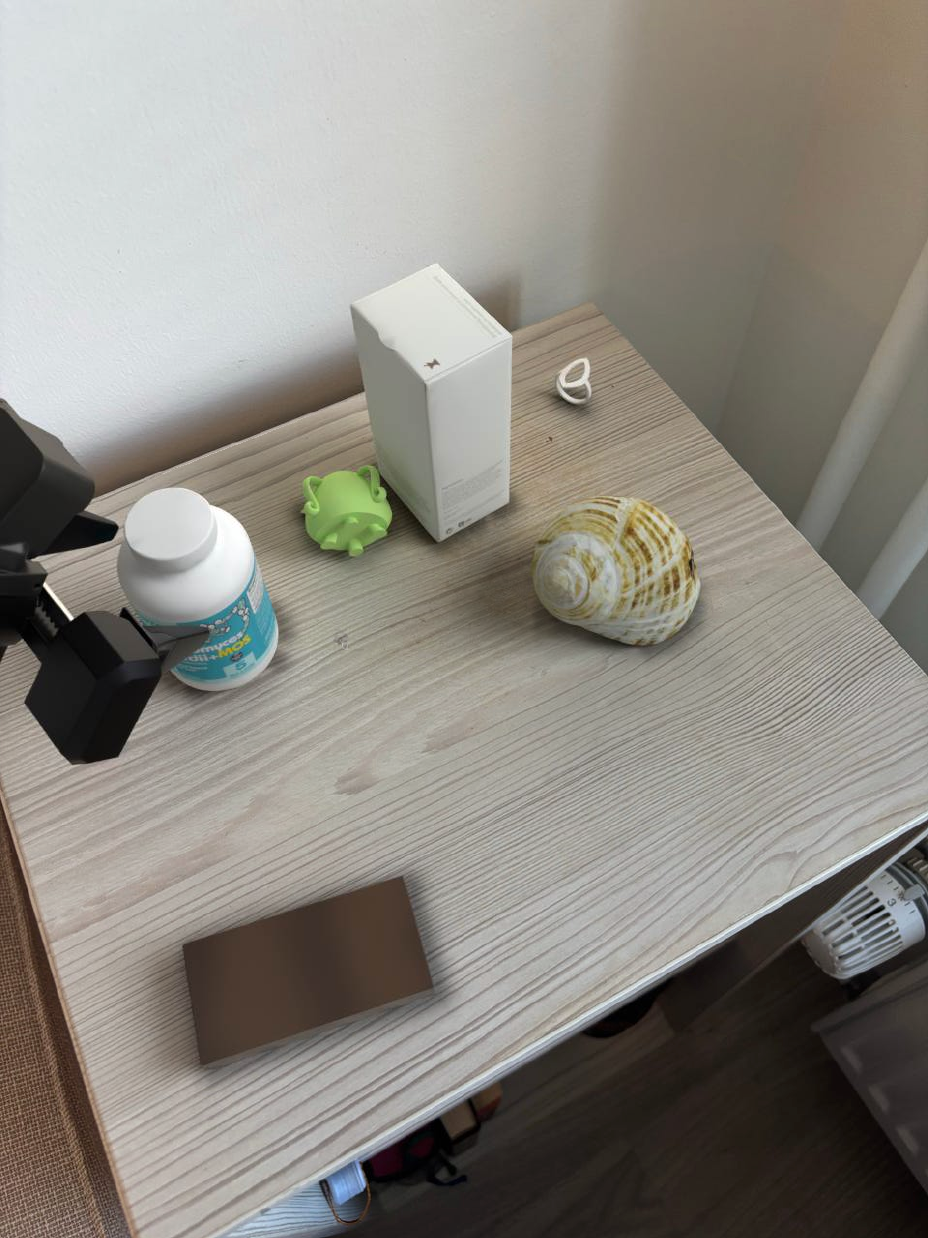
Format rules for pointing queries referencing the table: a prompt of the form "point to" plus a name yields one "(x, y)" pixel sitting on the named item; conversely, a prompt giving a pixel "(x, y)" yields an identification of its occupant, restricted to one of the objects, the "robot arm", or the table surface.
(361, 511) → the green footed pot
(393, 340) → the cosmetic box
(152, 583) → the pill bottle
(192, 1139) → the table surface
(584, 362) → the ring
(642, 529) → the seashell
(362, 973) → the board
